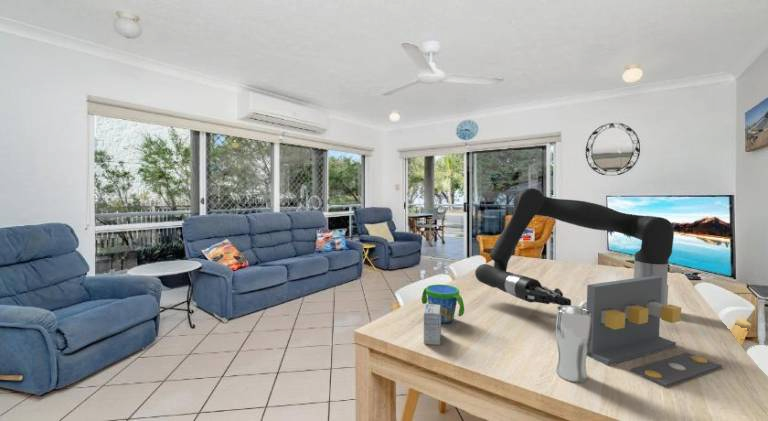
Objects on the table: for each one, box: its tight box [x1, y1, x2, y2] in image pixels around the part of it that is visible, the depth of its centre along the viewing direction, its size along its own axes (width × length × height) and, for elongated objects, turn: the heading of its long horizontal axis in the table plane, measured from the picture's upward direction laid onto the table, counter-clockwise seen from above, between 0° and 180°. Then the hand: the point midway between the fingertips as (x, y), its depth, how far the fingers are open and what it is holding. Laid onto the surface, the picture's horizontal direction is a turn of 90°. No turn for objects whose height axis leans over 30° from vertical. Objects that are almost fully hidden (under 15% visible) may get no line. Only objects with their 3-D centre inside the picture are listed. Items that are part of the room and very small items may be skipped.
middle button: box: [624, 305, 648, 324], centre depth 89 cm, size 4×10×4 cm, turn 22°
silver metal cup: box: [555, 304, 592, 384], centre depth 75 cm, size 7×7×15 cm
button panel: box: [586, 276, 677, 367], centre depth 89 cm, size 27×10×18 cm, turn 112°
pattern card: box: [630, 351, 723, 388], centre depth 78 cm, size 22×7×1 cm, turn 112°
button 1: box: [577, 300, 625, 330], centre depth 86 cm, size 4×10×4 cm, turn 22°
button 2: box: [646, 301, 682, 324], centre depth 90 cm, size 4×10×4 cm, turn 22°
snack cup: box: [421, 284, 465, 324], centre depth 107 cm, size 16×10×10 cm
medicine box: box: [423, 303, 442, 346], centre depth 93 cm, size 8×4×9 cm, turn 168°
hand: (569, 303), depth 94 cm, fingers closed
